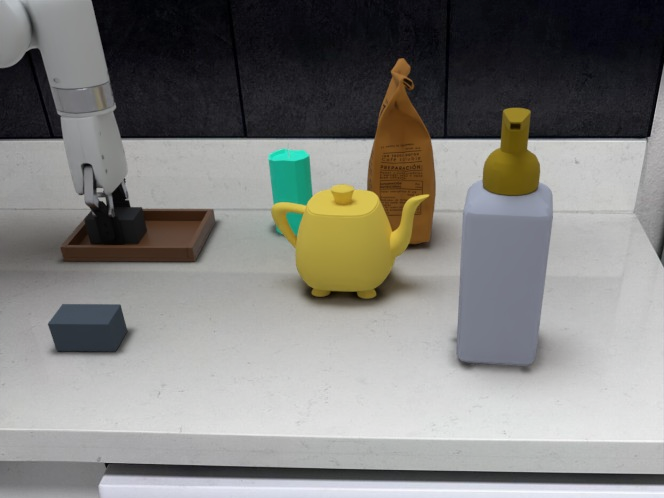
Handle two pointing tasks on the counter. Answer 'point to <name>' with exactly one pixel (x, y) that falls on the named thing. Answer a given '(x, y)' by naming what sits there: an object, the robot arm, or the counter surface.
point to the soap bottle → (504, 253)
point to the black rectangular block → (129, 223)
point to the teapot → (345, 239)
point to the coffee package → (403, 158)
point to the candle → (291, 181)
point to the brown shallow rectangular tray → (149, 239)
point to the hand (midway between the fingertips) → (118, 234)
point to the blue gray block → (88, 327)
